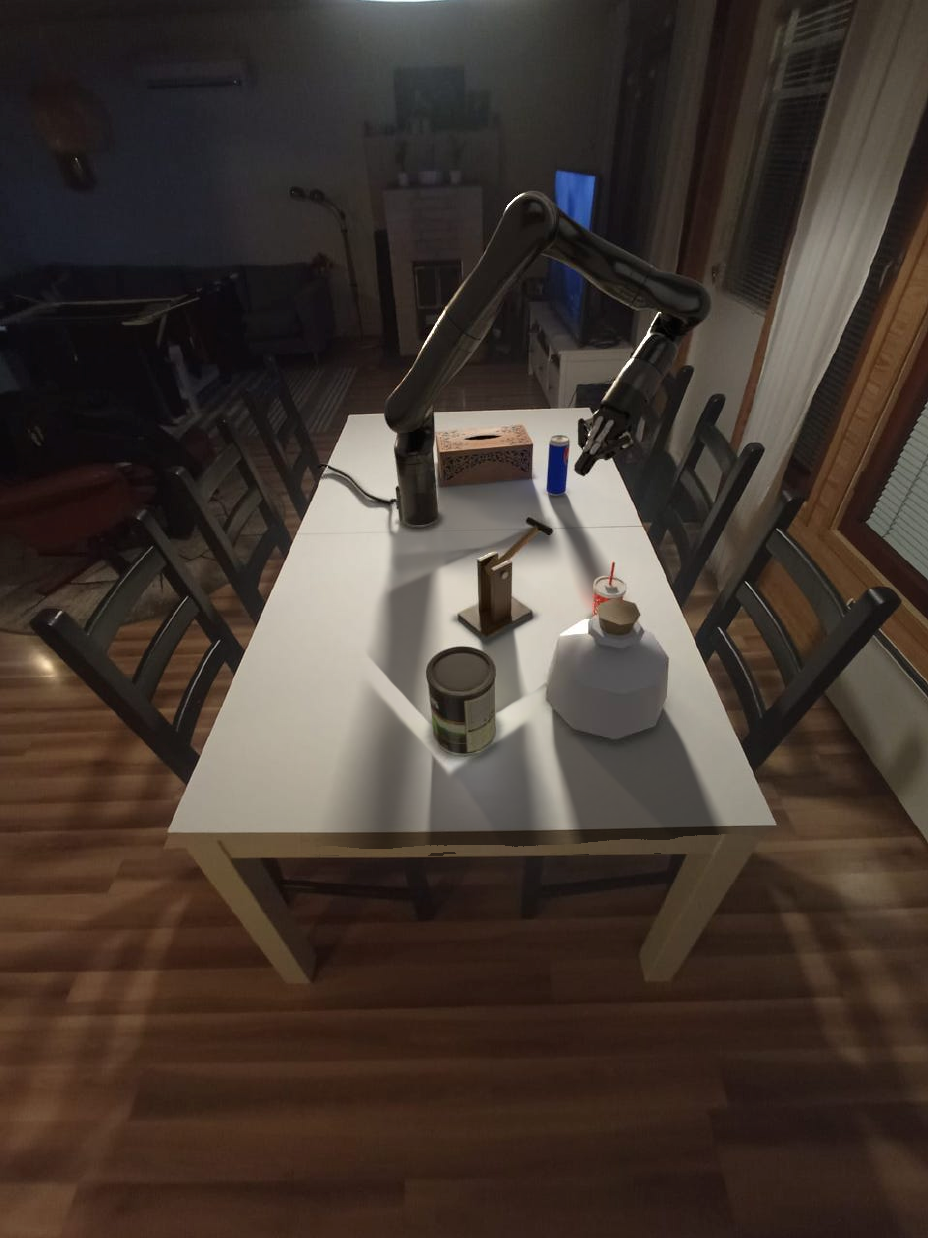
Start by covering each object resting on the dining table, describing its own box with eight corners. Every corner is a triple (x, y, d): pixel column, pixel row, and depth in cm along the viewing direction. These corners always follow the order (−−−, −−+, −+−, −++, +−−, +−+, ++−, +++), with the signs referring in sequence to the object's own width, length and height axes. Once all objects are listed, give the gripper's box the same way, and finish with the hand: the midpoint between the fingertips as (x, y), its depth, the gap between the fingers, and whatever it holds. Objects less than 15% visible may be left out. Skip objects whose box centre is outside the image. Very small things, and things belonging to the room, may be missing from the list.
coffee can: (434, 760, 86) (426, 699, 77) (431, 709, 94) (424, 648, 85) (500, 754, 87) (500, 692, 78) (492, 704, 95) (491, 642, 86)
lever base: (503, 595, 118) (503, 539, 109) (532, 616, 112) (535, 558, 103) (457, 618, 112) (454, 561, 104) (485, 641, 107) (484, 583, 98)
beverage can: (564, 497, 149) (569, 442, 140) (545, 495, 150) (548, 442, 141) (566, 488, 153) (570, 434, 144) (547, 487, 154) (550, 434, 144)
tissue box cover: (522, 456, 170) (522, 424, 163) (531, 477, 159) (533, 443, 152) (437, 464, 168) (435, 431, 162) (441, 485, 157) (439, 451, 151)
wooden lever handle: (533, 521, 109) (529, 512, 107) (554, 533, 105) (551, 525, 103) (481, 570, 107) (477, 562, 105) (501, 584, 103) (497, 576, 101)
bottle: (671, 751, 86) (699, 664, 74) (542, 737, 89) (549, 650, 77) (659, 661, 101) (681, 576, 89) (550, 651, 104) (556, 568, 92)
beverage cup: (601, 635, 107) (611, 576, 98) (582, 618, 111) (589, 559, 102) (626, 625, 109) (638, 566, 100) (606, 608, 113) (616, 549, 104)
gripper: (596, 372, 104) (544, 453, 107) (654, 388, 96) (596, 476, 99) (612, 394, 110) (562, 470, 113) (667, 412, 102) (613, 494, 104)
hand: (578, 473), depth 106 cm, fingers closed
